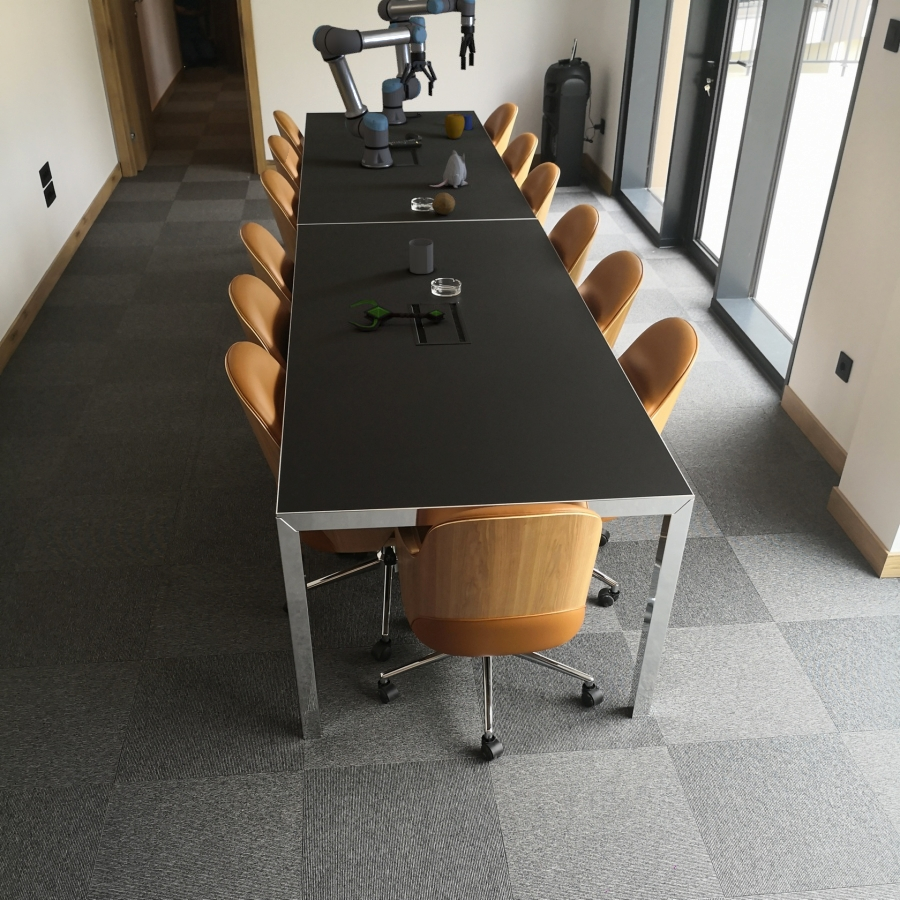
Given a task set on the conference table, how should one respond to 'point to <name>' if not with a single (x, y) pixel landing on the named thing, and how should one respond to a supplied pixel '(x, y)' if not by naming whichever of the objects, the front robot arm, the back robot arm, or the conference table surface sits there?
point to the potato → (443, 203)
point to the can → (467, 121)
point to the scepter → (391, 315)
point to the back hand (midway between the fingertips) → (467, 67)
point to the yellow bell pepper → (454, 125)
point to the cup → (421, 256)
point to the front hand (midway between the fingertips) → (418, 97)
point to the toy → (454, 171)
